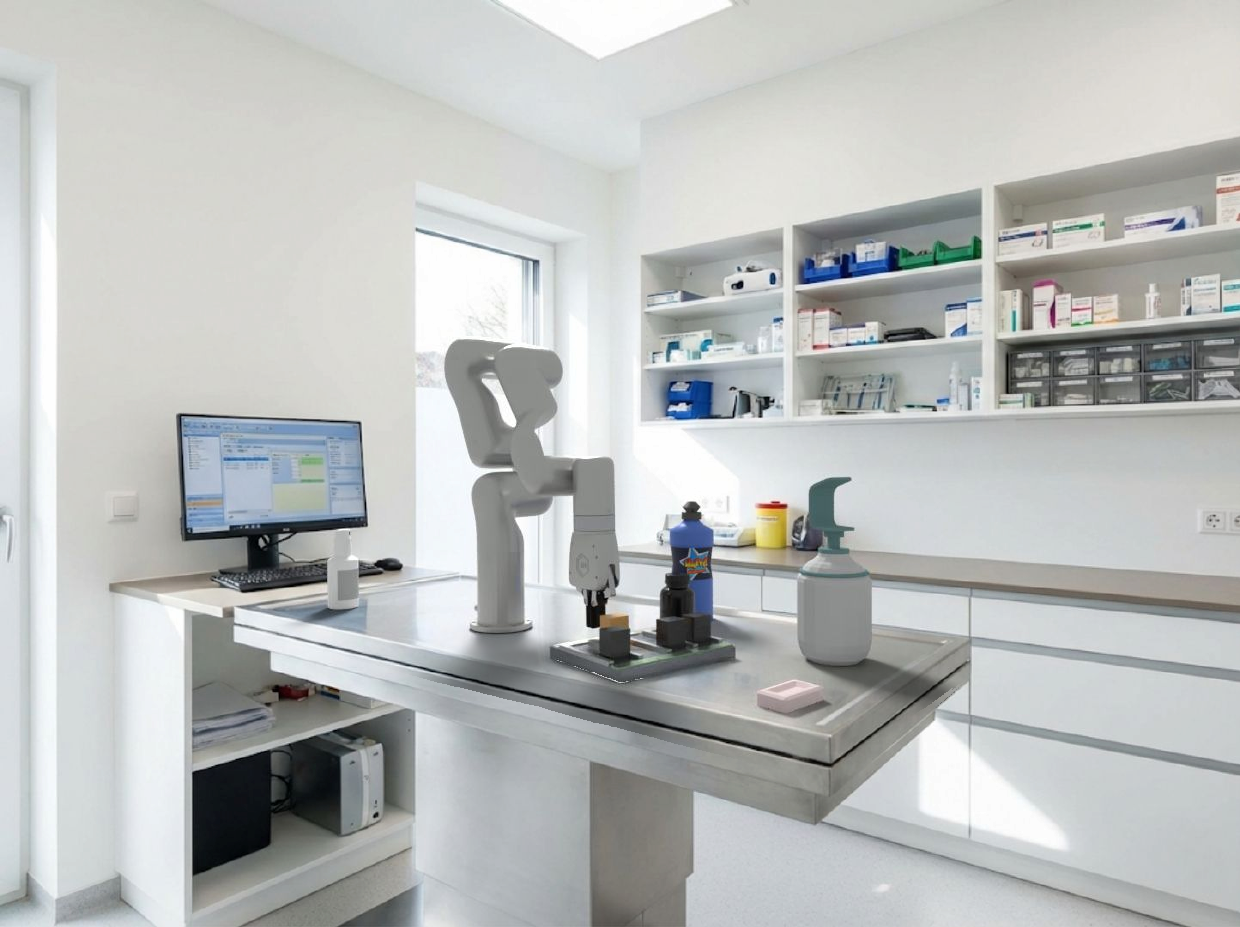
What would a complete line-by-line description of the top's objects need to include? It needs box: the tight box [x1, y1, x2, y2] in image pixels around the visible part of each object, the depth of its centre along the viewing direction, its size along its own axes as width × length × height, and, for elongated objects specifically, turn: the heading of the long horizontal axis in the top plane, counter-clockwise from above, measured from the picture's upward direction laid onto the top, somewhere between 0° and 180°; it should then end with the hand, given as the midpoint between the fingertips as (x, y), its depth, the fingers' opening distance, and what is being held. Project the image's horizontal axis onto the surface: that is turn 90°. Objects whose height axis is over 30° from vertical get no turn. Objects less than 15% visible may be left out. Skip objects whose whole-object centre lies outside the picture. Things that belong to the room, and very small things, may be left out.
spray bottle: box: [326, 528, 360, 611], centre depth 186 cm, size 7×7×18 cm
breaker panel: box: [549, 612, 737, 682], centre depth 139 cm, size 20×25×7 cm
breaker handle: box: [599, 612, 630, 629], centre depth 140 cm, size 3×4×5 cm
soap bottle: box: [796, 476, 873, 667], centre depth 137 cm, size 12×12×31 cm
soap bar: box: [756, 679, 824, 714], centre depth 114 cm, size 5×9×2 cm, turn 132°
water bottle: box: [669, 500, 715, 622], centre depth 171 cm, size 9×9×25 cm
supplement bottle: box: [659, 572, 695, 619], centre depth 156 cm, size 7×7×12 cm
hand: (596, 626), depth 145 cm, fingers closed
